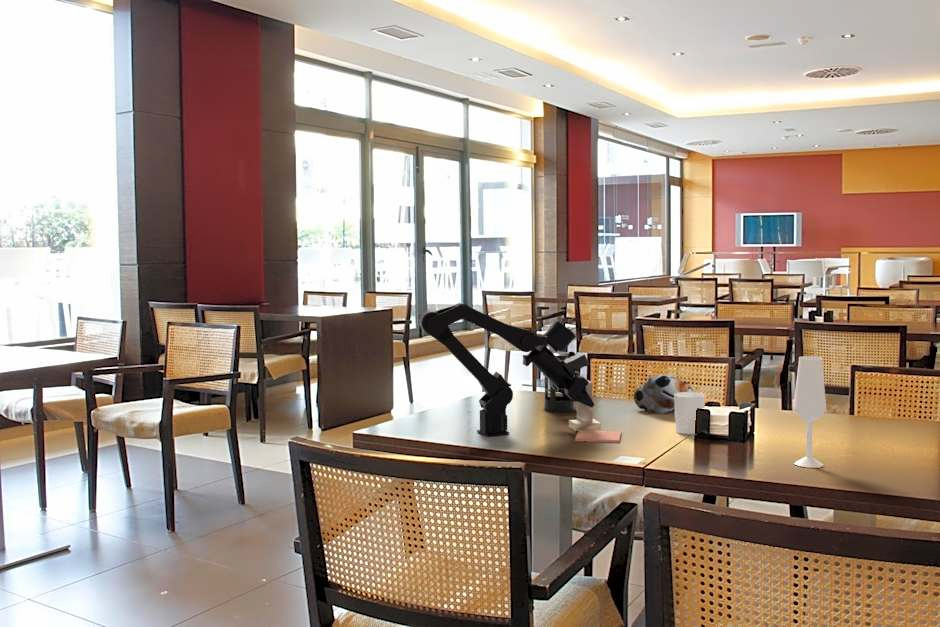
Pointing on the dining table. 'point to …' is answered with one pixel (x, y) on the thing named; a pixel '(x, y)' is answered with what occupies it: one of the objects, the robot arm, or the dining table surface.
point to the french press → (554, 401)
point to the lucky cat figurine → (659, 393)
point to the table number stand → (585, 415)
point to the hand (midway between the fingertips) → (589, 404)
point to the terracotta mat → (598, 436)
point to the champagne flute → (809, 400)
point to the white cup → (687, 410)
